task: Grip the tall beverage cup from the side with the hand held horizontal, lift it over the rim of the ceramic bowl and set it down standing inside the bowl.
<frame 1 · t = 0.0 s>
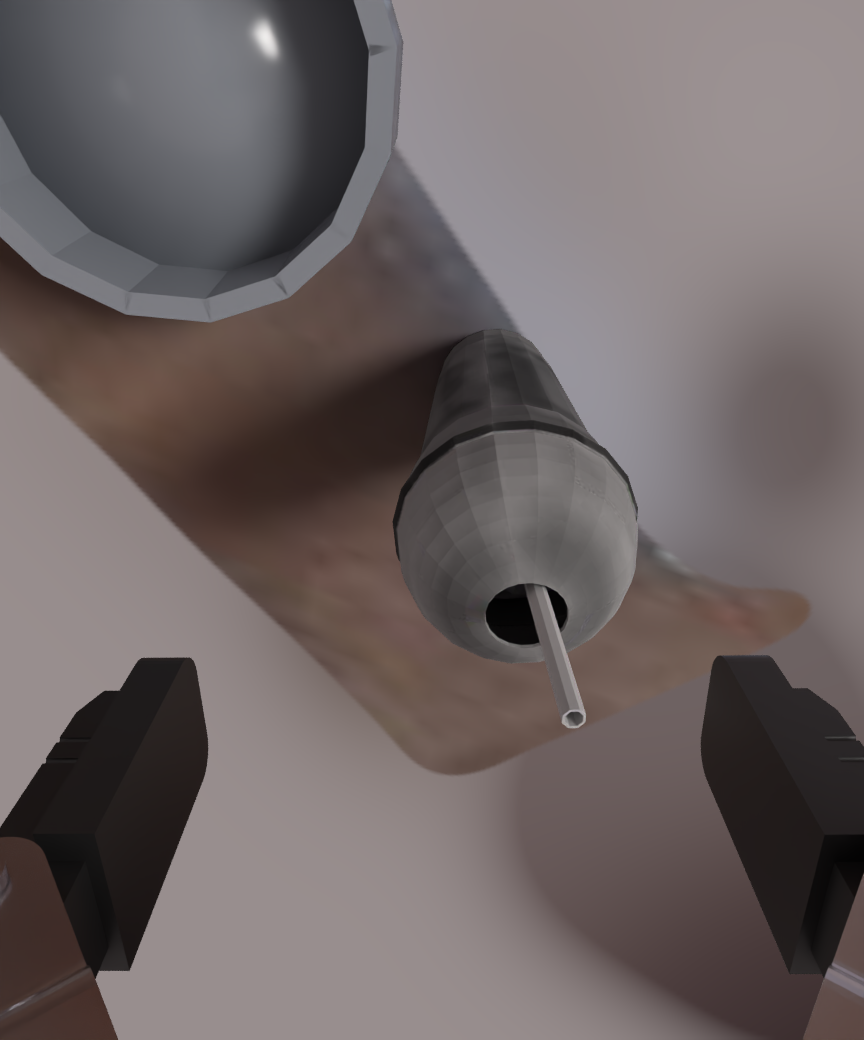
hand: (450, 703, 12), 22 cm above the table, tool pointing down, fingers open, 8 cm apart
beverage cup: (493, 379, 33), on the table
bowl: (188, 68, 27), on the table
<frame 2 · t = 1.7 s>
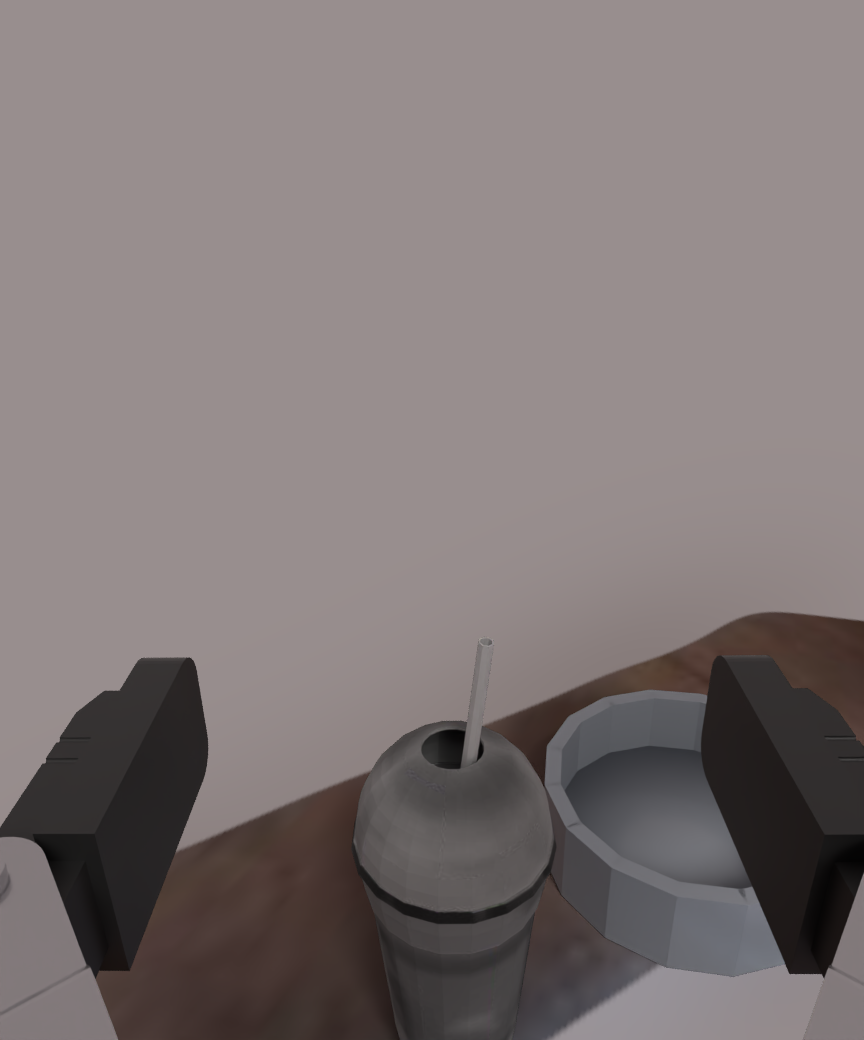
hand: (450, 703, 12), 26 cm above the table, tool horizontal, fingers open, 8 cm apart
bowl: (681, 844, 42), on the table
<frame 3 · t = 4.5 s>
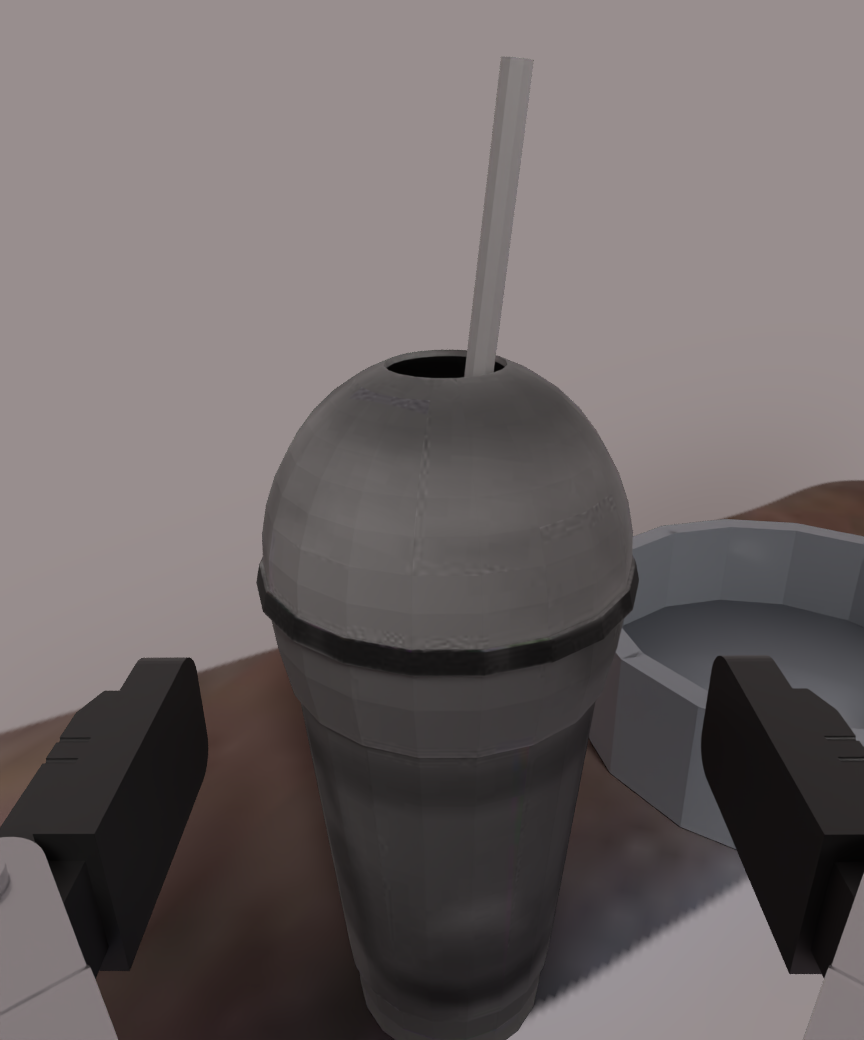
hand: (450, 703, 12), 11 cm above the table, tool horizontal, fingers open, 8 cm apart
beverage cup: (449, 972, 20), on the table
bowl: (779, 713, 29), on the table
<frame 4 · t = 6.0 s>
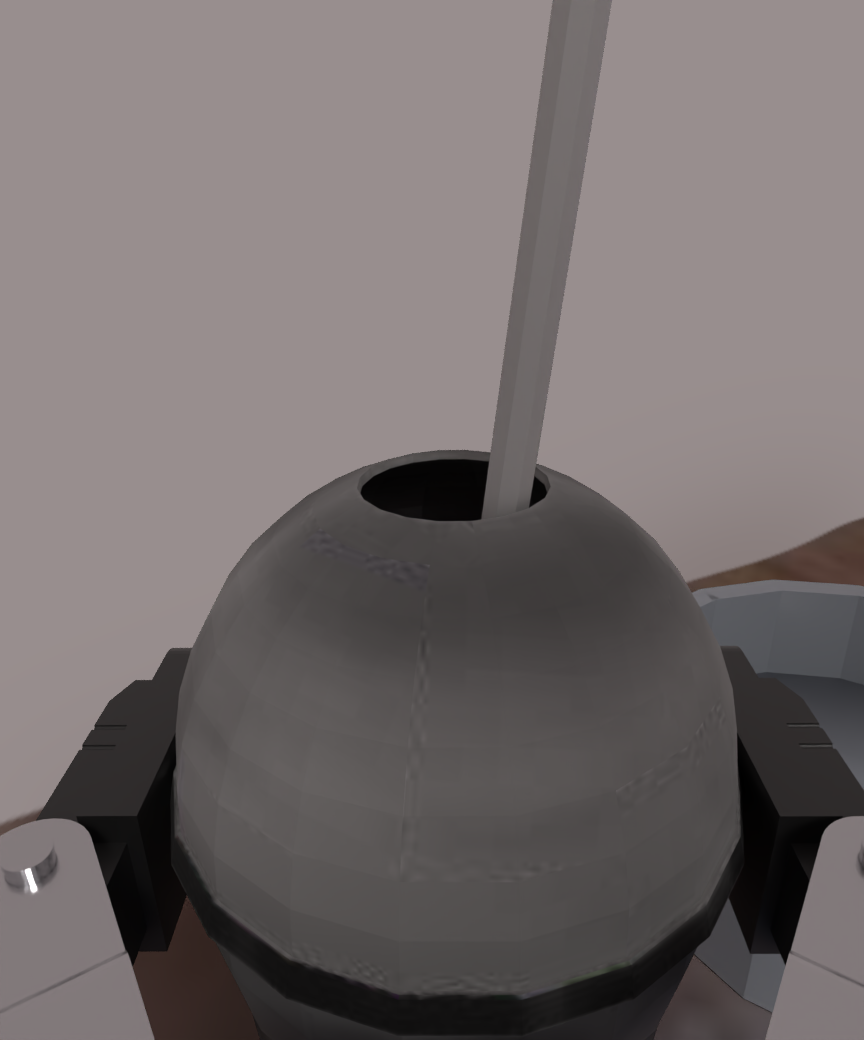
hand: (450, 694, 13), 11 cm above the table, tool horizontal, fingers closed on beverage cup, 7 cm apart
bowl: (849, 826, 24), on the table
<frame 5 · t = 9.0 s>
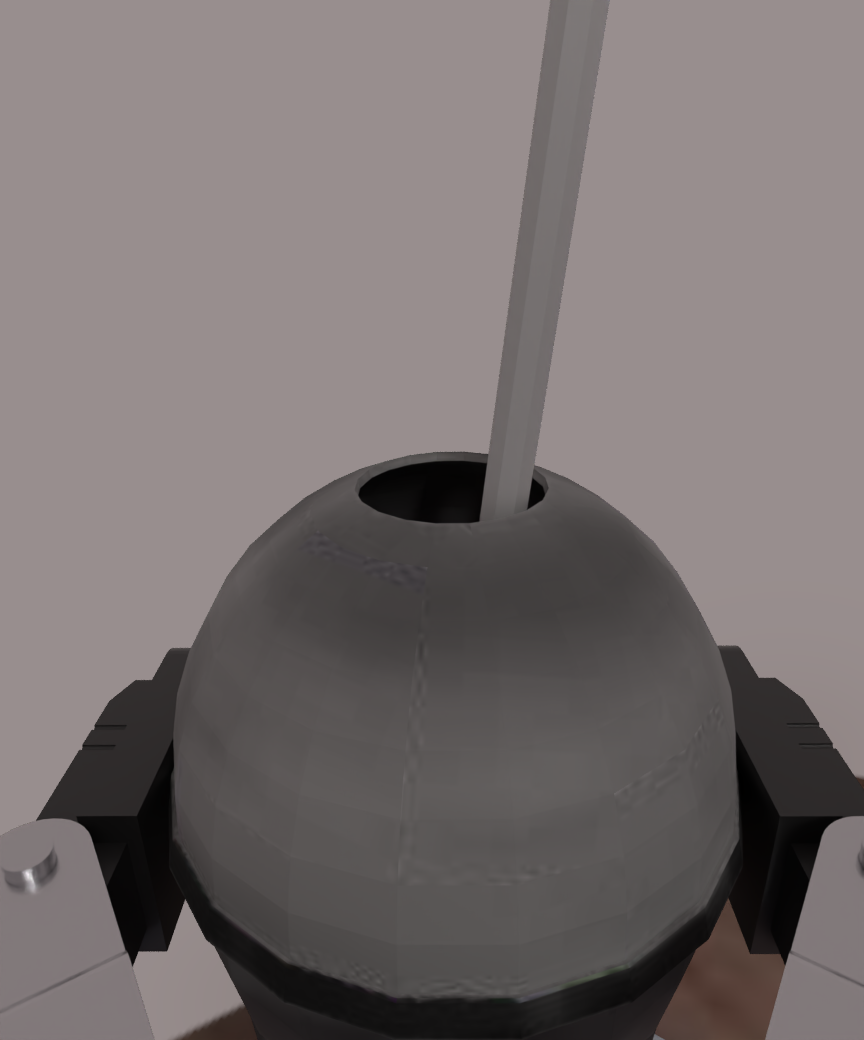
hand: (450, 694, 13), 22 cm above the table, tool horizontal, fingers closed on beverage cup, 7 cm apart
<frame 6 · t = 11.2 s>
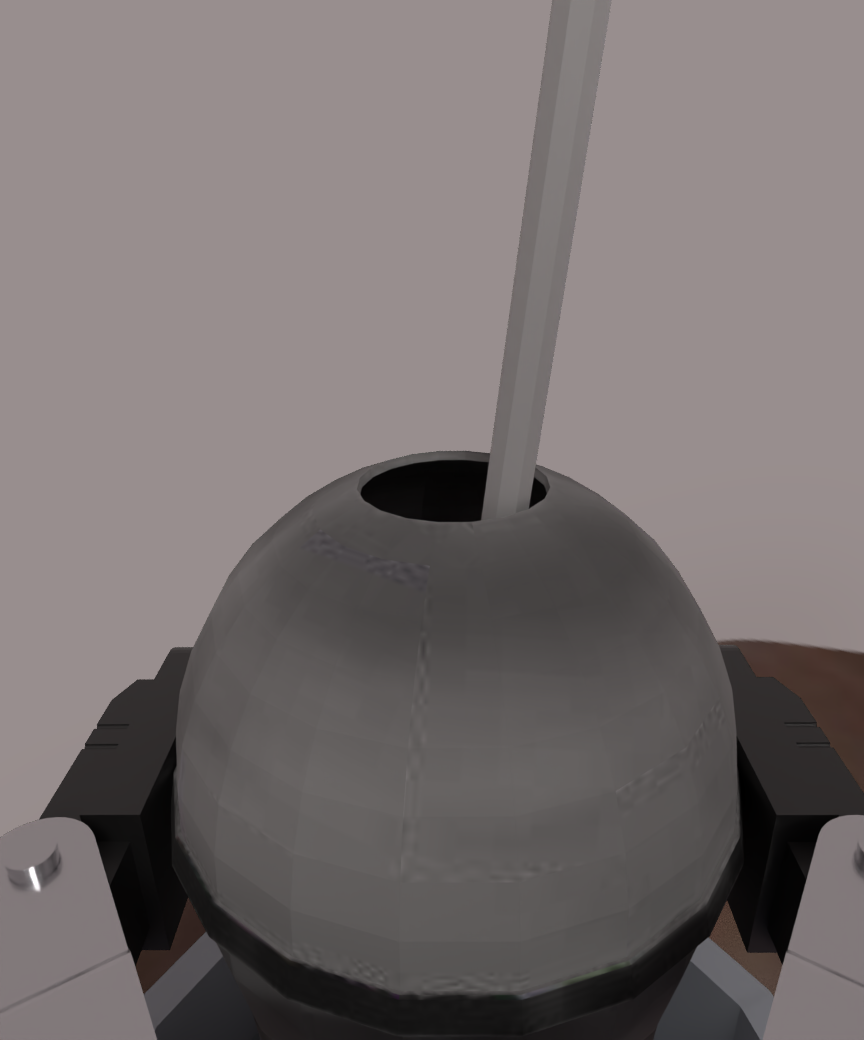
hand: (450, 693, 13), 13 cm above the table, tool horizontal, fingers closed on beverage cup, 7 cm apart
when the fingers open (13 cm above the table, at t = 11.6 s): beverage cup drops 1 cm, resting on bowl.
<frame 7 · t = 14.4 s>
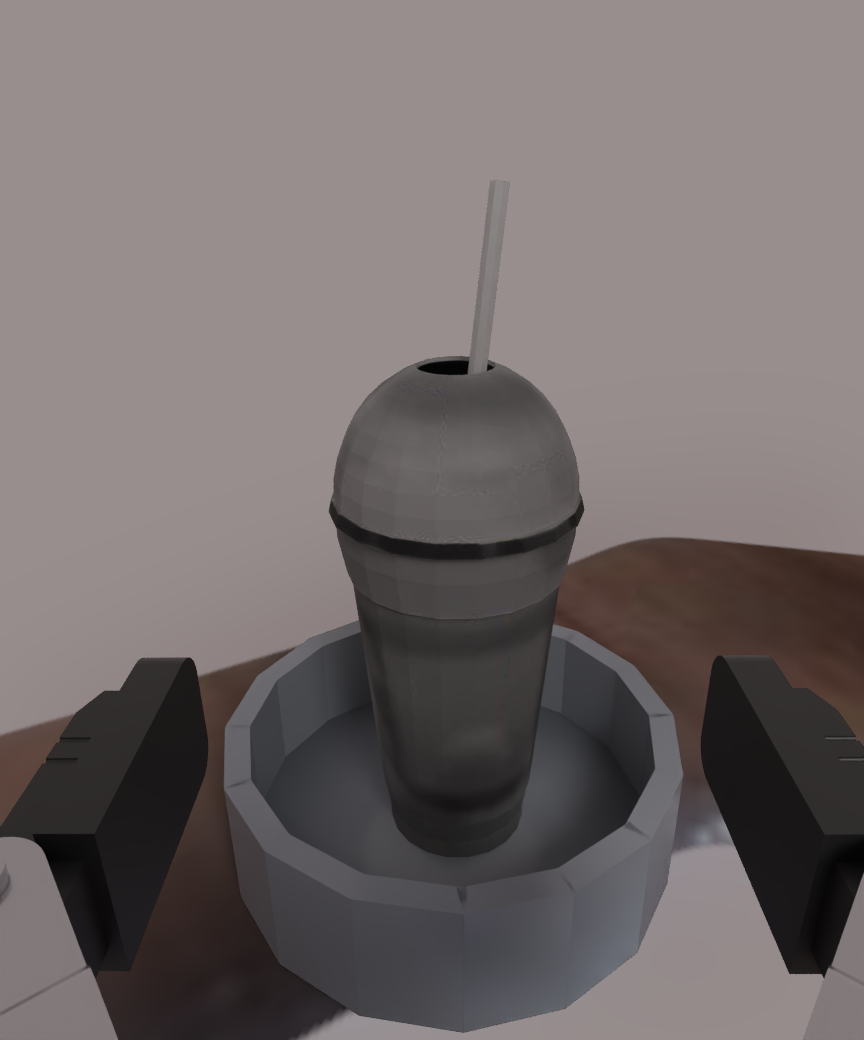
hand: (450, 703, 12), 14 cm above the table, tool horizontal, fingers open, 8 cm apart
beverage cup: (456, 810, 28), point 1 cm above the table, touching bowl
bowl: (450, 823, 28), on the table
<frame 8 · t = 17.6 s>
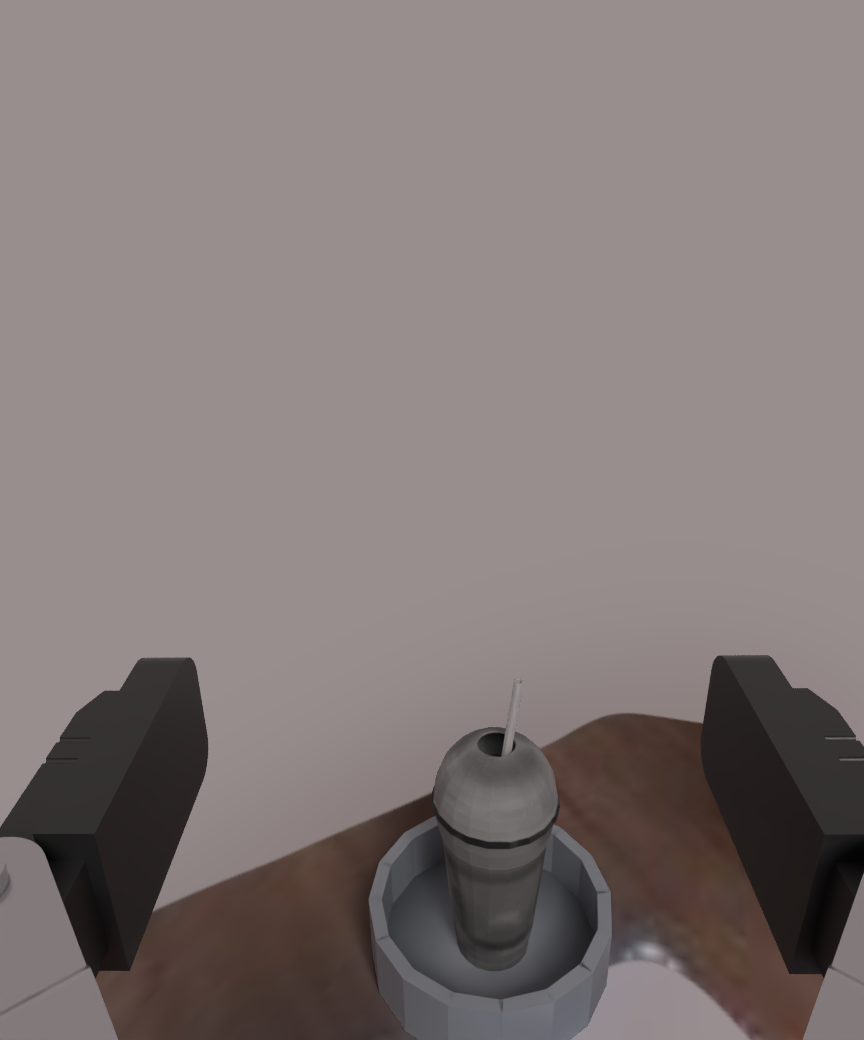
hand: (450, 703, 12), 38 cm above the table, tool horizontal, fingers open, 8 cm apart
beverage cup: (492, 940, 50), point 1 cm above the table, touching bowl
bowl: (488, 946, 51), on the table
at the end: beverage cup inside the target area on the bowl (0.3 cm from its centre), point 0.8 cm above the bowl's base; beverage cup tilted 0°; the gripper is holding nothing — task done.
